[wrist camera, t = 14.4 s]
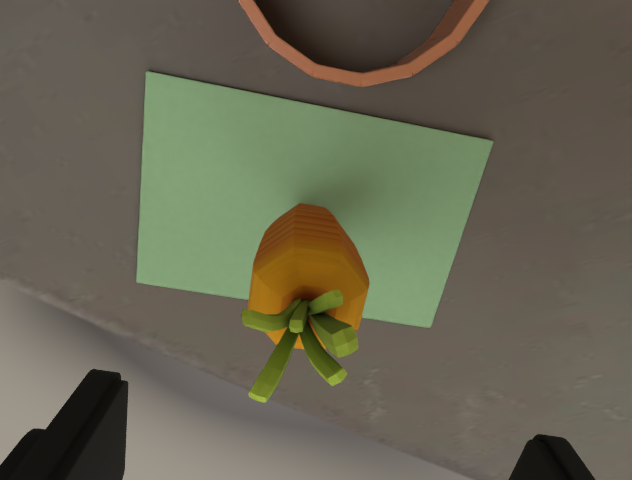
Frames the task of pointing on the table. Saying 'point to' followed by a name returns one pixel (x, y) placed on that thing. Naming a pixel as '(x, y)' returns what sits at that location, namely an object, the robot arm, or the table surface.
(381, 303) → the napkin
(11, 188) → the table surface
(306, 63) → the pan
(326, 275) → the carrot
